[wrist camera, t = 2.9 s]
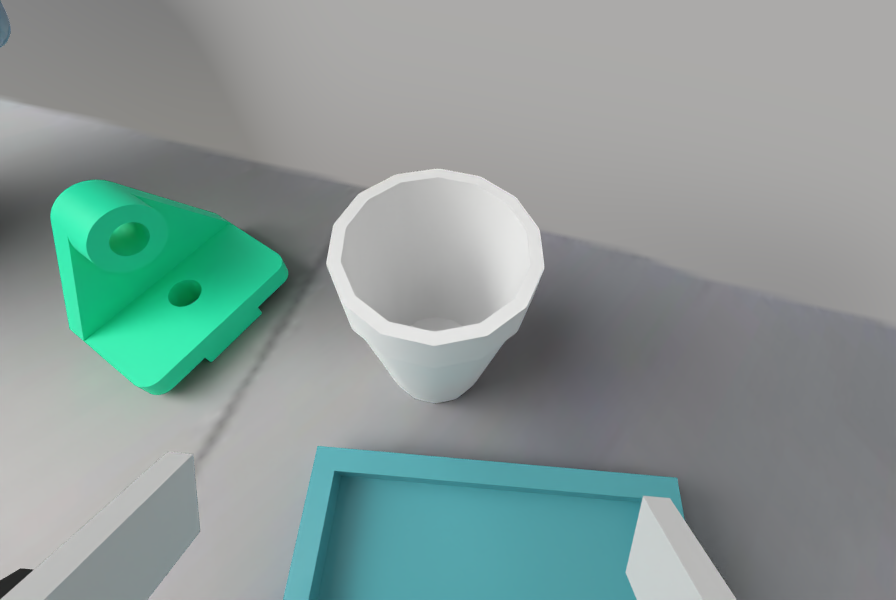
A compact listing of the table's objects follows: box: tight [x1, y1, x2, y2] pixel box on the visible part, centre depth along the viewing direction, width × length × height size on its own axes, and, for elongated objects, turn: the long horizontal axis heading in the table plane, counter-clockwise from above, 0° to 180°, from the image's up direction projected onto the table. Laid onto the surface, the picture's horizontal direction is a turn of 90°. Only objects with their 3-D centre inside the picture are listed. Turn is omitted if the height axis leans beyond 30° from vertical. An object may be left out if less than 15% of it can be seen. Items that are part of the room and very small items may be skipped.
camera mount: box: [50, 180, 288, 395], centre depth 27 cm, size 12×8×10 cm, turn 146°
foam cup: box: [326, 168, 545, 404], centre depth 24 cm, size 10×9×13 cm
